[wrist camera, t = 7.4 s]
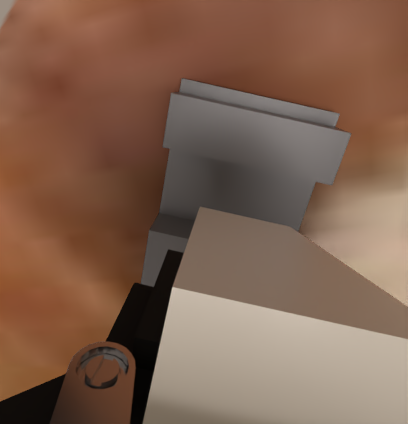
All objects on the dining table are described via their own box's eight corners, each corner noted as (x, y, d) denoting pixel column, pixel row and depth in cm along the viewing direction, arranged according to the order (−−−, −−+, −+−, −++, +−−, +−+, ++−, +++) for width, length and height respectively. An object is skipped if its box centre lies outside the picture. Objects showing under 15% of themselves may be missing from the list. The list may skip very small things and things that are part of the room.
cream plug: (289, 226, 14) (479, 354, 4) (267, 312, 15) (388, 611, 5) (199, 206, 14) (172, 286, 4) (180, 293, 15) (114, 551, 5)
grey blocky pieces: (245, 370, 30) (247, 411, 26) (138, 346, 30) (124, 384, 26) (334, 112, 21) (357, 118, 17) (184, 78, 21) (173, 77, 17)
